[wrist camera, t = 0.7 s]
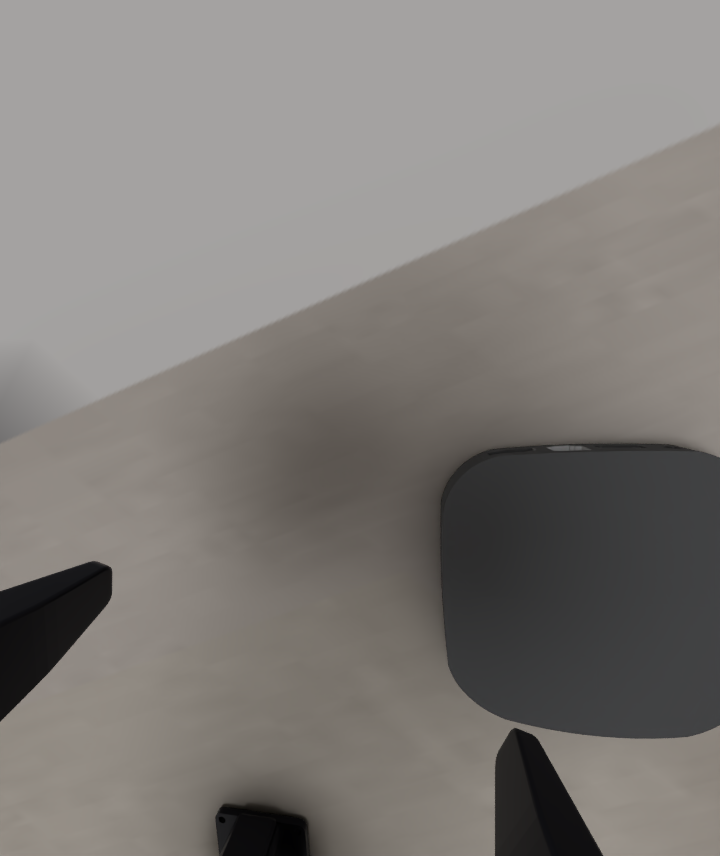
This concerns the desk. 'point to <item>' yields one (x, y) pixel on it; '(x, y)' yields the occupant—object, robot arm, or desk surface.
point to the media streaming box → (586, 587)
